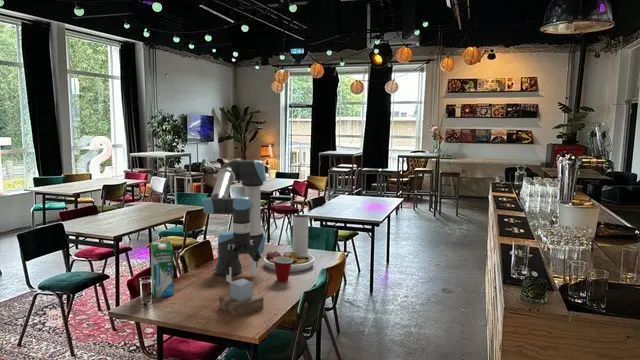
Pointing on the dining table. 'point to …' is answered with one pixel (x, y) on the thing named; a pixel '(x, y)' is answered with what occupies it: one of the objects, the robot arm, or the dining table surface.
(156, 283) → the milk carton
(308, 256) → the bowl
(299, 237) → the speaker
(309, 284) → the dining table surface
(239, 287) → the slate cube
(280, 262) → the plastic cup
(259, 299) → the walnut block
